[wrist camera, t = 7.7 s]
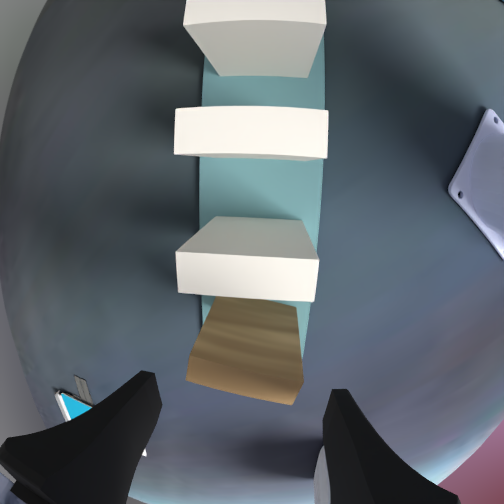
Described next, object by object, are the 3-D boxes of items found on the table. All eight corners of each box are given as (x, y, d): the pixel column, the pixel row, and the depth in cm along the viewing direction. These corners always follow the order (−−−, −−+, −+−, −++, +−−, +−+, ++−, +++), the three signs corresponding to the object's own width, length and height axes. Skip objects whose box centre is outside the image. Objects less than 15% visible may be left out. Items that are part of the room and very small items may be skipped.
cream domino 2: (217, 130, 15) (175, 109, 8) (306, 133, 15) (328, 110, 8) (216, 157, 16) (173, 154, 9) (305, 161, 15) (326, 158, 9)
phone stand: (153, 475, 30) (150, 484, 28) (84, 447, 30) (79, 454, 28) (138, 396, 23) (132, 407, 22) (48, 357, 24) (40, 365, 22)
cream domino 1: (221, 53, 14) (187, -6, 7) (307, 54, 13) (324, -7, 7) (220, 76, 14) (183, 25, 7) (307, 78, 14) (326, 24, 7)
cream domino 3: (215, 216, 17) (175, 251, 10) (302, 220, 16) (319, 259, 10) (215, 242, 17) (178, 292, 10) (300, 247, 17) (314, 301, 10)
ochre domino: (219, 287, 18) (189, 355, 11) (296, 307, 18) (303, 382, 11) (215, 308, 18) (185, 380, 12) (288, 327, 18) (291, 404, 12)
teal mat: (215, -32, 12) (214, -35, 11) (317, -32, 11) (318, -35, 11) (206, 348, 20) (204, 351, 20) (301, 355, 19) (302, 359, 19)
